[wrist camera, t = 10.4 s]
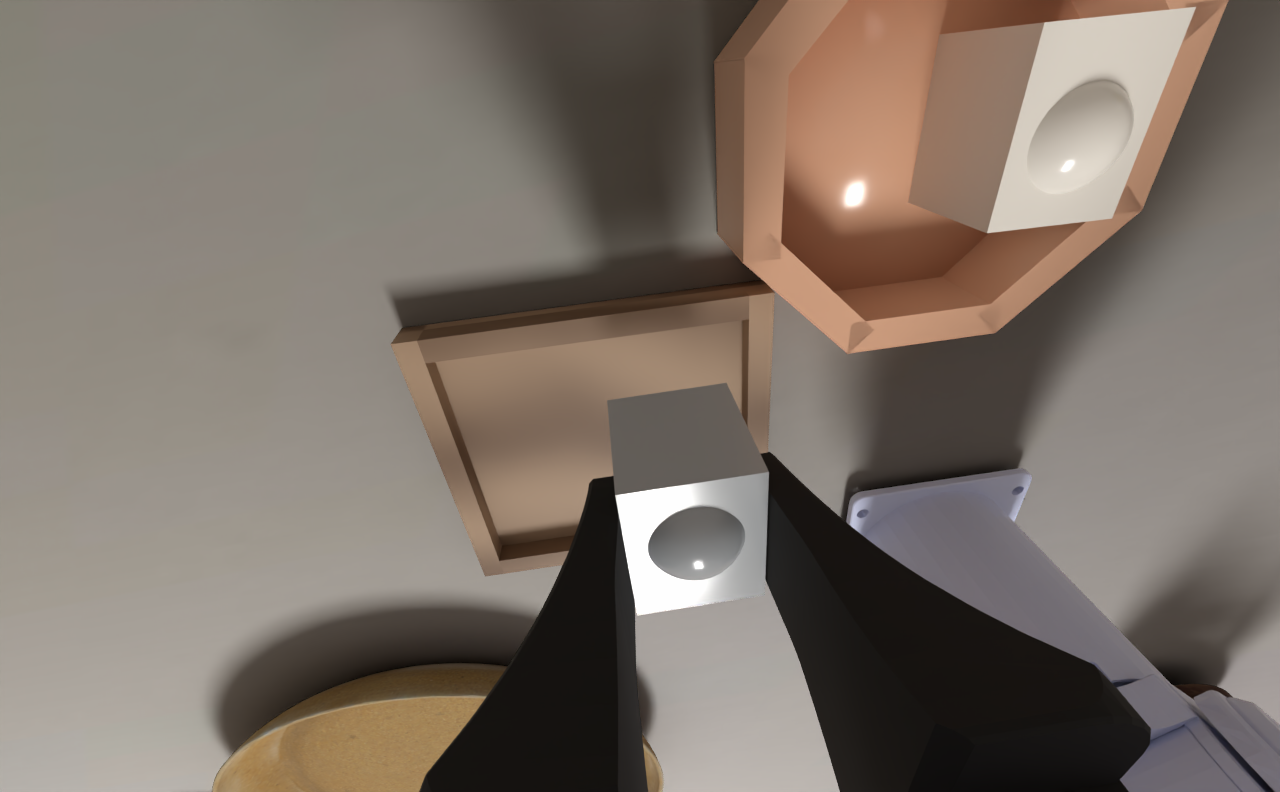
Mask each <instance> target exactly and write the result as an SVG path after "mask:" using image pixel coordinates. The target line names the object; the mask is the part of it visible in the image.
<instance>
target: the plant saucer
mask: <svg viewBox="0 0 1280 792" xmlns="http://www.w3.org/2000/svg"><path fill="white" fill-rule="evenodd" d="M507 667H508V666H501V665H491V664H478V663H446V664H430V665H419V666H412V667H406V668H400V669H394V670H389V671H385V672H381V673H376V674H372V675H369V676H365V677H362V678H359V679H355V680H352V681H349V682H346V683H343V684H341V685H338V686H335V687H333V688H330V689H328V690H326V691H323V692H321V693H319V694H316V695H314V696H312V697H310V698H308V699H306V700H304V701H302V702H300V703H299V704H297V705H295V706H293V707H292V708H290V709H288V710H287V711H285V712H283V713H282V714H280V715H279V716H277V717H276V718H274V719H273V720H271V721H270V722H268V723H267V724H266V725H264V726H263V727H262V728H260V729H259V730H258V731H256V732H255V733H254V734H253V735H252V736H251V737H250V738H248V739H247V740H246V741H245V742H244V743H243V744H242V745H241V746H240V747H239V748H238V749H237V750H236V751H235V752H234V753H233V754H232V755H231V756H230V757H229V759H228V760H227V761H226V762H225V763H224V764H223V766H222V767H221V768H220V770H219V771H218V773H217V775H216V777H215V780H214V783H213V787H212V792H419V791H420V788H421V785H422V783H423V780H424V778H425V775H426V774H427V772H428V771H429V770H430V769H431V767H432V766H433V765H434V764H435V762H436V761H437V760H438V759H439V758H440V756H441V755H442V754H443V753H444V751H445V750H446V749H447V748H448V746H449V745H450V744H451V743H452V741H453V740H454V739H455V738H456V736H457V735H458V734H459V733H460V732H461V730H462V729H463V728H464V727H465V725H466V724H467V723H468V721H469V720H470V719H471V718H472V716H473V715H474V714H475V712H476V711H477V709H478V708H479V707H480V705H481V704H482V702H483V701H484V700H485V698H486V697H487V695H488V694H489V693H490V691H491V690H492V688H493V687H494V685H495V684H496V683H497V681H498V680H499V678H500V677H501V676H502V674H503V673H504V671H505V670H506V668H507ZM642 739H643V748H644V758H645V767H646V776H647V785H648V792H662V791H663V786H664V778H663V772H662V769H661V766H660V764H659V762H658V760H657V757H656V755H655V753H654V752H653V750H652V748H651V747H650V745H649V743H648V742H647V740H646V739H645V738H644V736H643V735H642Z"/></svg>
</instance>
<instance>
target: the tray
mask: <svg viewBox="0 0 1280 792" xmlns="http://www.w3.org/2000/svg"><path fill="white" fill-rule="evenodd" d="M773 317H774V291H773V290H772V289H771V288H770V287H769V286H768V285H767V284H766V283H765V282H764V281H763V280H757V281H749V282H742V283H735V284H727V285H720V286H712V287H705V288H697V289H690V290H682V291H675V292H667V293H660V294H652V295H645V296H638V297H630V298H623V299H615V300H608V301H600V302H593V303H585V304H578V305H570V306H563V307H556V308H548V309H541V310H533V311H526V312H518V313H511V314H503V315H496V316H488V317H481V318H473V319H466V320H459V321H451V322H444V323H436V324H429V325H421V326H414V327H406V328H402V329H401V330H400V332H399V333H398V335H397V336H396V338H395V339H394V340H393V342H392V343H391V346H392V349H393V351H394V354H395V356H396V359H397V361H398V363H399V366H400V368H401V371H402V373H403V376H404V378H405V381H406V383H407V386H408V388H409V390H410V393H411V395H412V398H413V400H414V403H415V405H416V408H417V410H418V413H419V415H420V417H421V420H422V422H423V425H424V427H425V430H426V432H427V435H428V437H429V440H430V442H431V444H432V447H433V449H434V452H435V454H436V457H437V459H438V462H439V464H440V467H441V469H442V471H443V474H444V476H445V479H446V481H447V484H448V486H449V489H450V491H451V494H452V496H453V498H454V501H455V503H456V506H457V508H458V511H459V513H460V516H461V518H462V521H463V523H464V525H465V528H466V530H467V533H468V535H469V538H470V540H471V543H472V545H473V548H474V550H475V552H476V555H477V557H478V560H479V562H480V565H481V567H482V570H483V572H484V575H485V576H491V575H498V574H505V573H511V572H518V571H525V570H531V569H538V568H545V567H552V566H558V565H563V563H564V561H565V559H566V557H567V554H568V552H569V549H570V546H571V544H572V541H573V538H574V536H575V533H576V530H577V527H578V525H579V521H580V518H581V515H582V512H583V508H584V505H585V501H586V497H587V493H588V487H589V483H590V482H591V481H592V480H593V479H595V478H602V477H609V476H613V464H612V452H611V440H610V428H609V416H608V404H607V400H613V399H620V398H626V397H633V396H640V395H647V394H654V393H660V392H667V391H674V390H681V389H687V388H694V387H701V386H708V385H714V384H721V383H727V385H728V387H729V389H730V391H731V393H732V395H733V398H734V400H735V402H736V404H737V406H738V408H739V410H740V412H741V414H742V416H743V419H744V421H745V423H746V425H747V427H748V429H749V431H750V433H751V435H752V438H753V440H754V442H755V444H756V446H757V448H758V450H759V452H760V454H761V453H767V452H768V435H769V412H770V388H771V364H772V340H773Z"/></svg>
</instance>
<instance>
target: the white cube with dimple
mask: <svg viewBox="0 0 1280 792" xmlns="http://www.w3.org/2000/svg"><path fill="white" fill-rule="evenodd" d="M607 404H608V416H609V428H610V440H611V452H612V464H613V476H614V488H615V497H616V503H617V508H618V513H619V519H620V524H621V530H622V535H623V540H624V546H625V551H626V556H627V562H628V567H629V572H630V578H631V583H632V589H633V594H634V599H635V605H636V610H637V615H643V614H650V613H656V612H662V611H669V610H675V609H681V608H688V607H694V606H700V605H706V604H713V603H719V602H725V601H732V600H738V599H744V598H751V597H757V596H763V595H765V574H766V545H767V515H768V485H769V471H768V469H767V467H766V465H765V463H764V461H763V459H762V456H761V454H760V452H759V450H758V448H757V446H756V444H755V442H754V440H753V438H752V435H751V433H750V431H749V429H748V427H747V425H746V423H745V421H744V419H743V416H742V414H741V412H740V410H739V408H738V406H737V404H736V402H735V400H734V398H733V395H732V393H731V391H730V389H729V387H728V385H727V383H721V384H714V385H708V386H701V387H694V388H687V389H681V390H674V391H667V392H660V393H654V394H647V395H640V396H633V397H626V398H620V399H613V400H607Z"/></svg>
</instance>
